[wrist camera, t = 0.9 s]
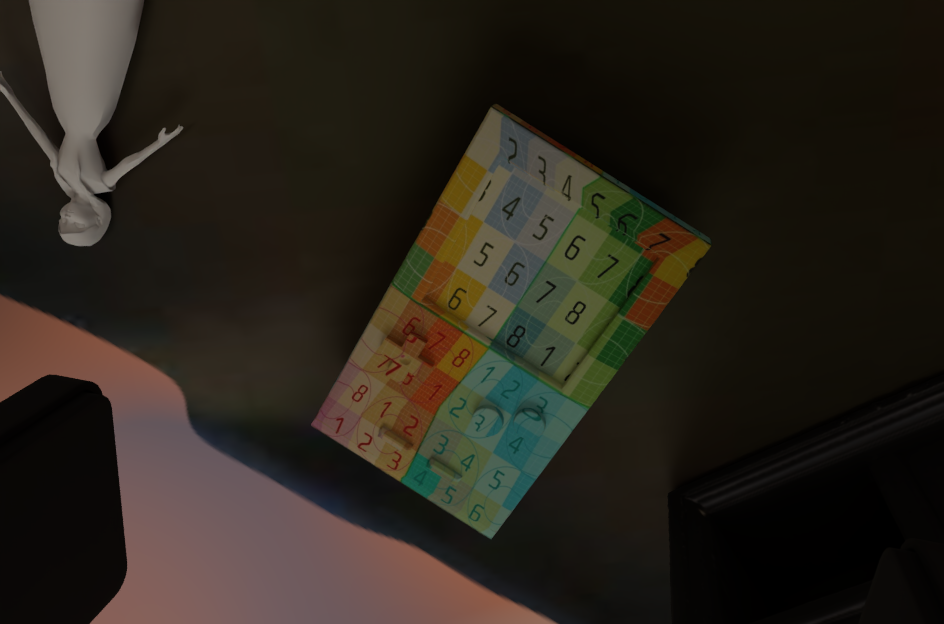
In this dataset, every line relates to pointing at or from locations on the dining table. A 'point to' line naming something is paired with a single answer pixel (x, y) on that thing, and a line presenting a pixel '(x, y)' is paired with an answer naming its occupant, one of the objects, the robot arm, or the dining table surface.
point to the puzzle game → (505, 321)
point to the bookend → (810, 517)
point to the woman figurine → (84, 101)
